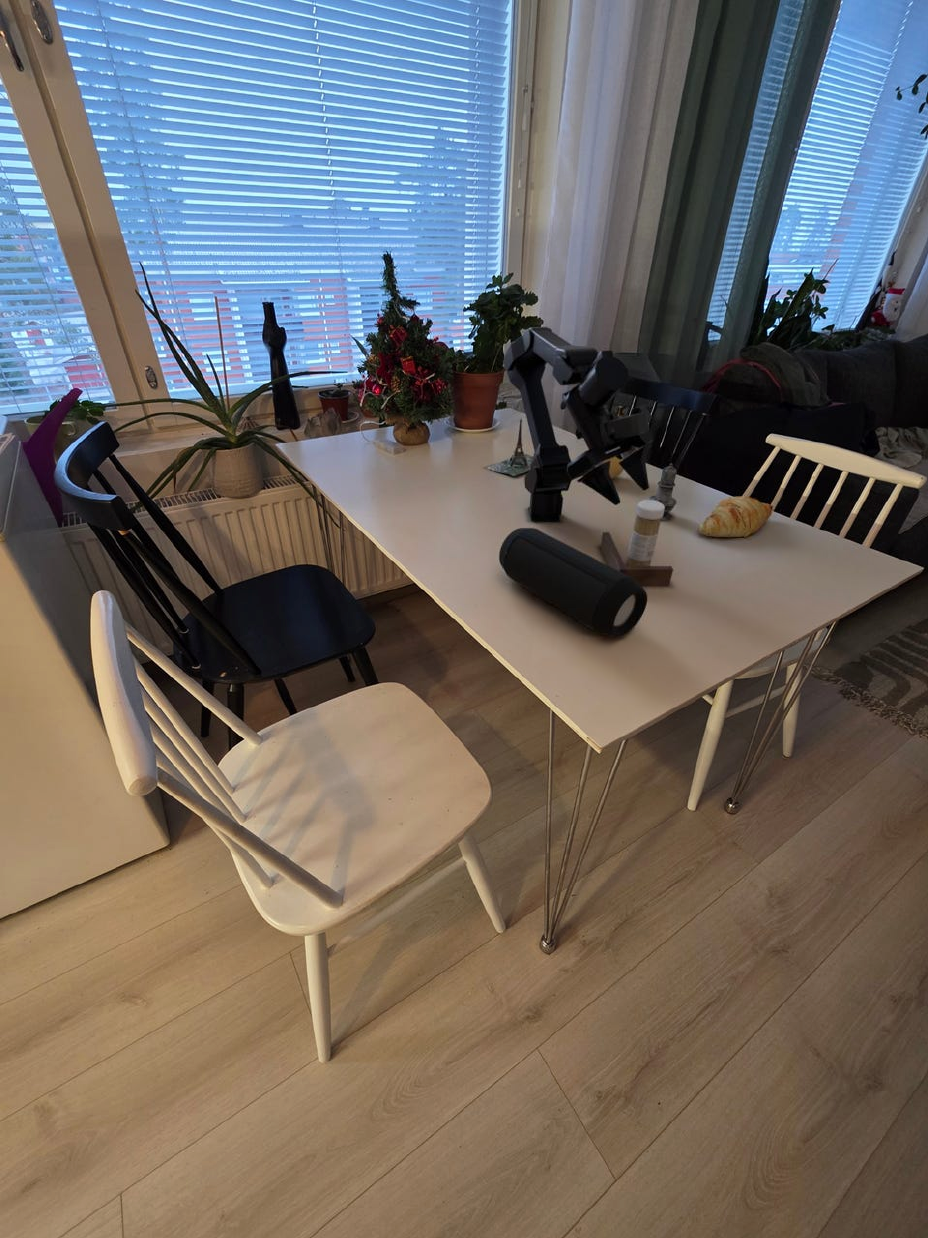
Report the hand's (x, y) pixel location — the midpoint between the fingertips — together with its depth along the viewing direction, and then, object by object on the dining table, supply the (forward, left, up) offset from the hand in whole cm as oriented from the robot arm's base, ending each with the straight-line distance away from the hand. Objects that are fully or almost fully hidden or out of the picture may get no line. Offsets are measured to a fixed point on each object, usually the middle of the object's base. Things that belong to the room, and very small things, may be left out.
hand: (632, 496), depth 93 cm
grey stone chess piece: (+14, +21, -14) cm, 29 cm away
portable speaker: (-13, -14, -14) cm, 23 cm away
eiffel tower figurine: (-15, +52, -14) cm, 56 cm away
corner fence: (+2, -1, -13) cm, 14 cm away
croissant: (+28, +15, -14) cm, 34 cm away
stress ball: (+6, +43, -14) cm, 46 cm away
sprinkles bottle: (+2, -3, -14) cm, 14 cm away
